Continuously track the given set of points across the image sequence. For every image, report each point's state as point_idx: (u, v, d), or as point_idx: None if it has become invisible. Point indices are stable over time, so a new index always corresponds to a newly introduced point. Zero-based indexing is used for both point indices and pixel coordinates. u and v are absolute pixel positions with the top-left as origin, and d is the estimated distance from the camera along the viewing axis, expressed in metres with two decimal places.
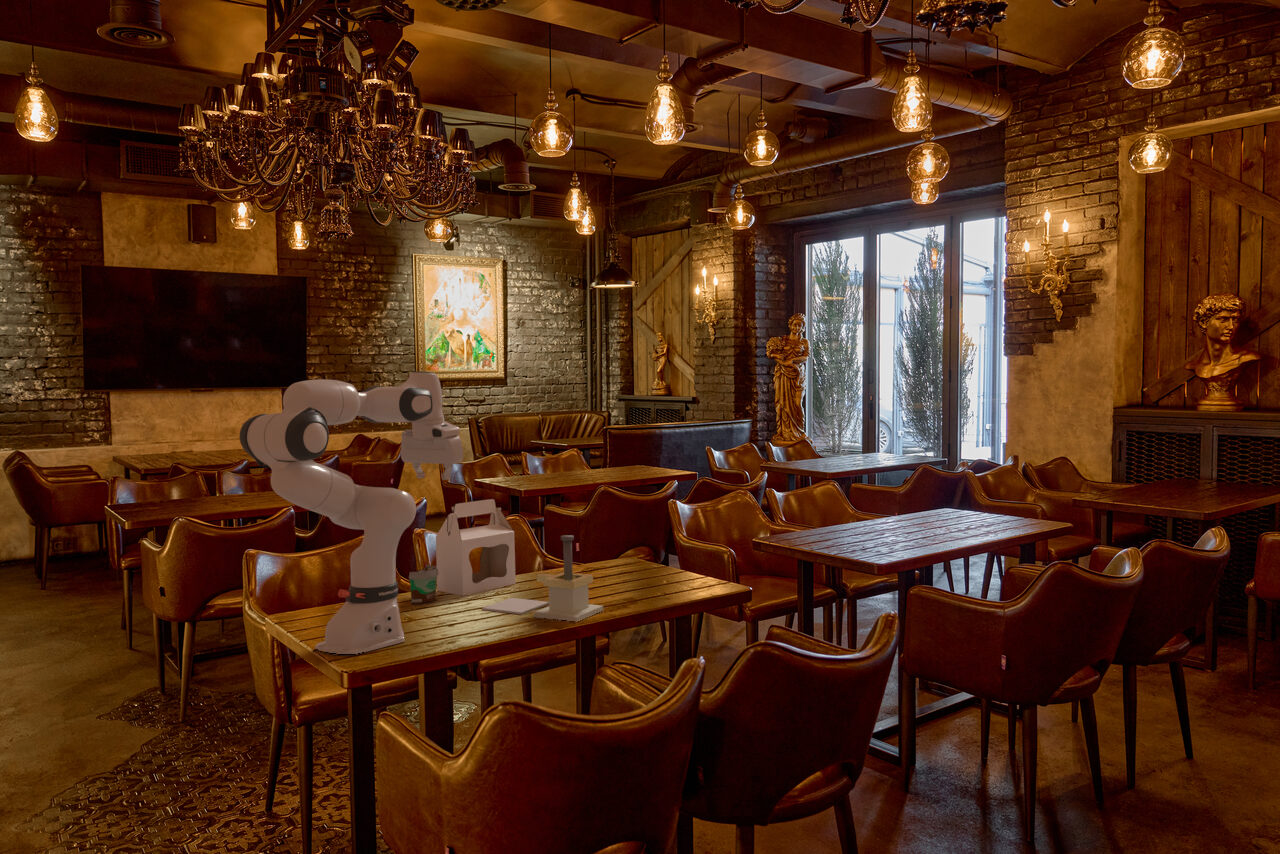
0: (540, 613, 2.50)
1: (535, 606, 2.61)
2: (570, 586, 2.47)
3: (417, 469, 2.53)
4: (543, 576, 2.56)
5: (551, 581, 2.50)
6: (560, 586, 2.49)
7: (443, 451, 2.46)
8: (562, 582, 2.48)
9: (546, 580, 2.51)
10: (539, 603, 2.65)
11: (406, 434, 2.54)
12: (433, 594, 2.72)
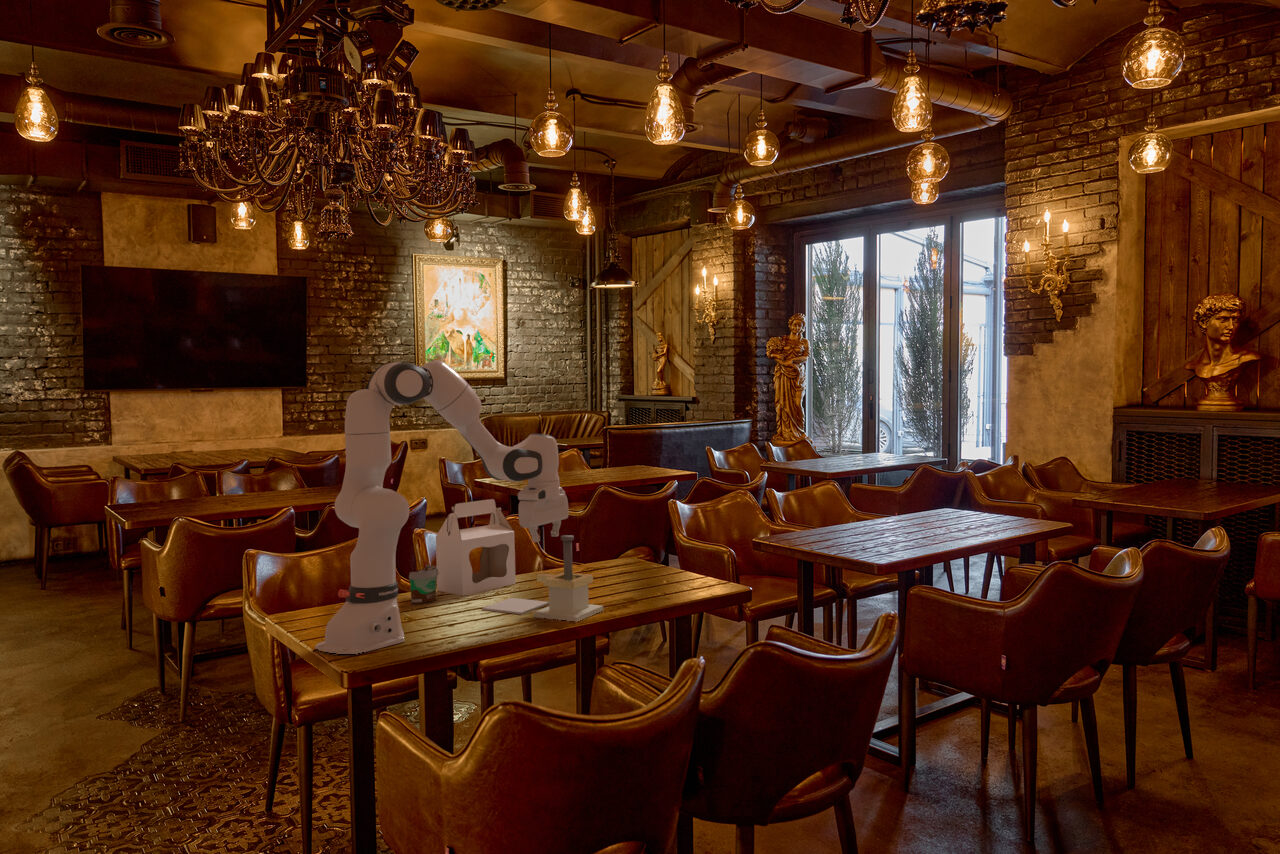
0: (540, 613, 2.50)
1: (535, 606, 2.61)
2: (570, 586, 2.47)
3: (554, 527, 2.61)
4: (543, 576, 2.56)
5: (551, 581, 2.50)
6: (560, 586, 2.49)
7: None
8: (562, 582, 2.48)
9: (546, 580, 2.51)
10: (539, 603, 2.65)
11: None
12: (433, 594, 2.72)
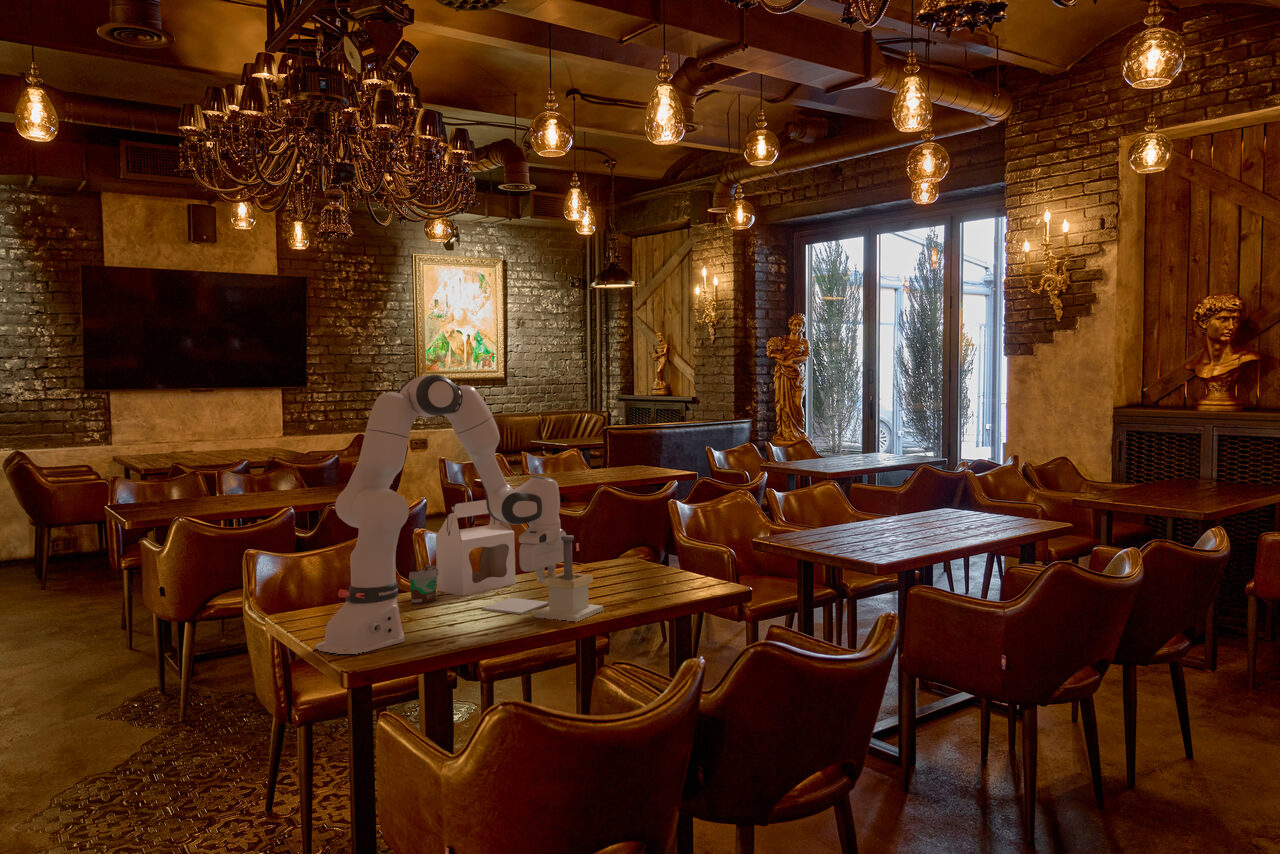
0: (540, 613, 2.50)
1: (535, 606, 2.61)
2: (570, 586, 2.47)
3: (548, 571, 2.59)
4: None
5: (551, 581, 2.50)
6: (560, 586, 2.49)
7: None
8: (562, 582, 2.48)
9: (546, 580, 2.51)
10: (539, 603, 2.65)
11: None
12: (433, 594, 2.72)
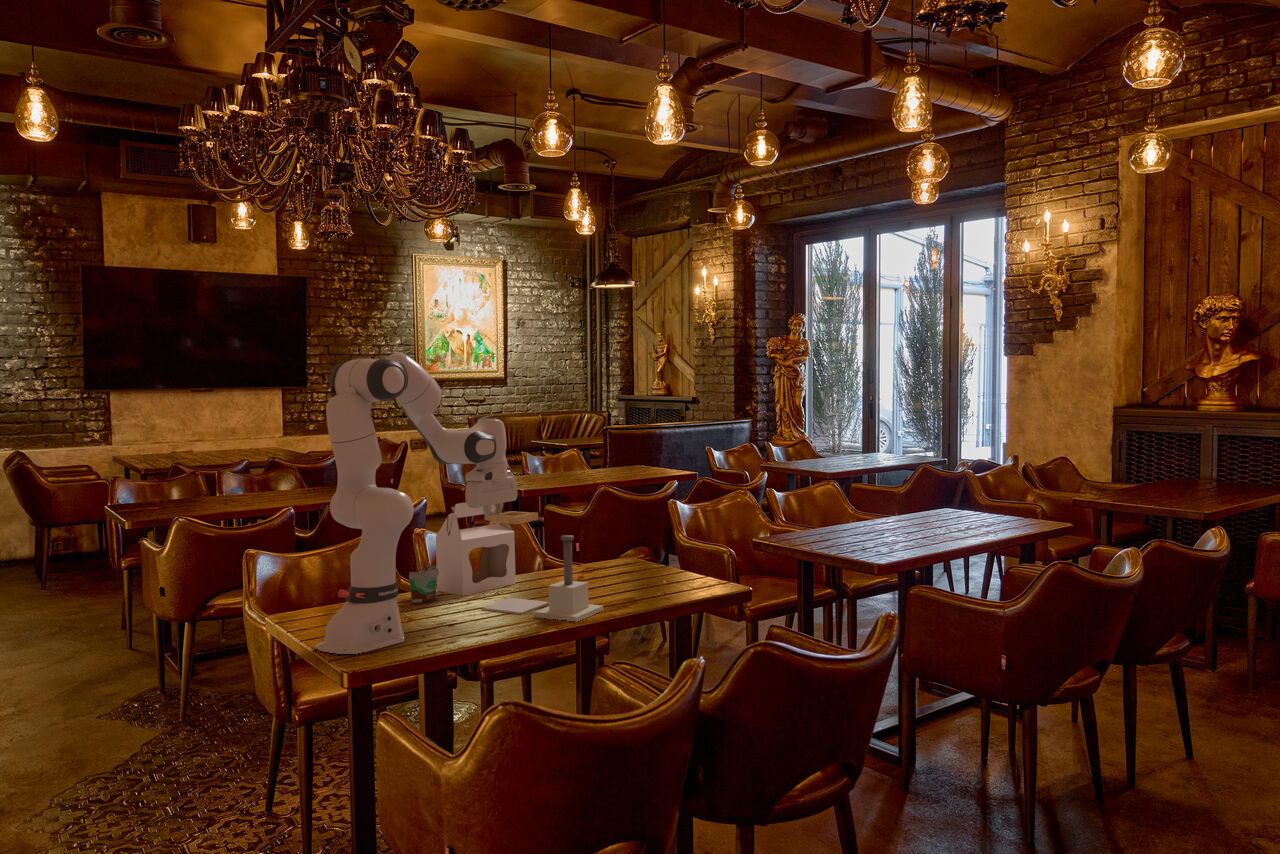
0: (540, 613, 2.50)
1: (535, 606, 2.61)
2: (514, 521, 2.56)
3: (496, 509, 2.68)
4: None
5: (497, 517, 2.59)
6: (505, 522, 2.58)
7: None
8: (507, 518, 2.58)
9: (492, 516, 2.60)
10: (539, 603, 2.65)
11: None
12: (433, 594, 2.72)
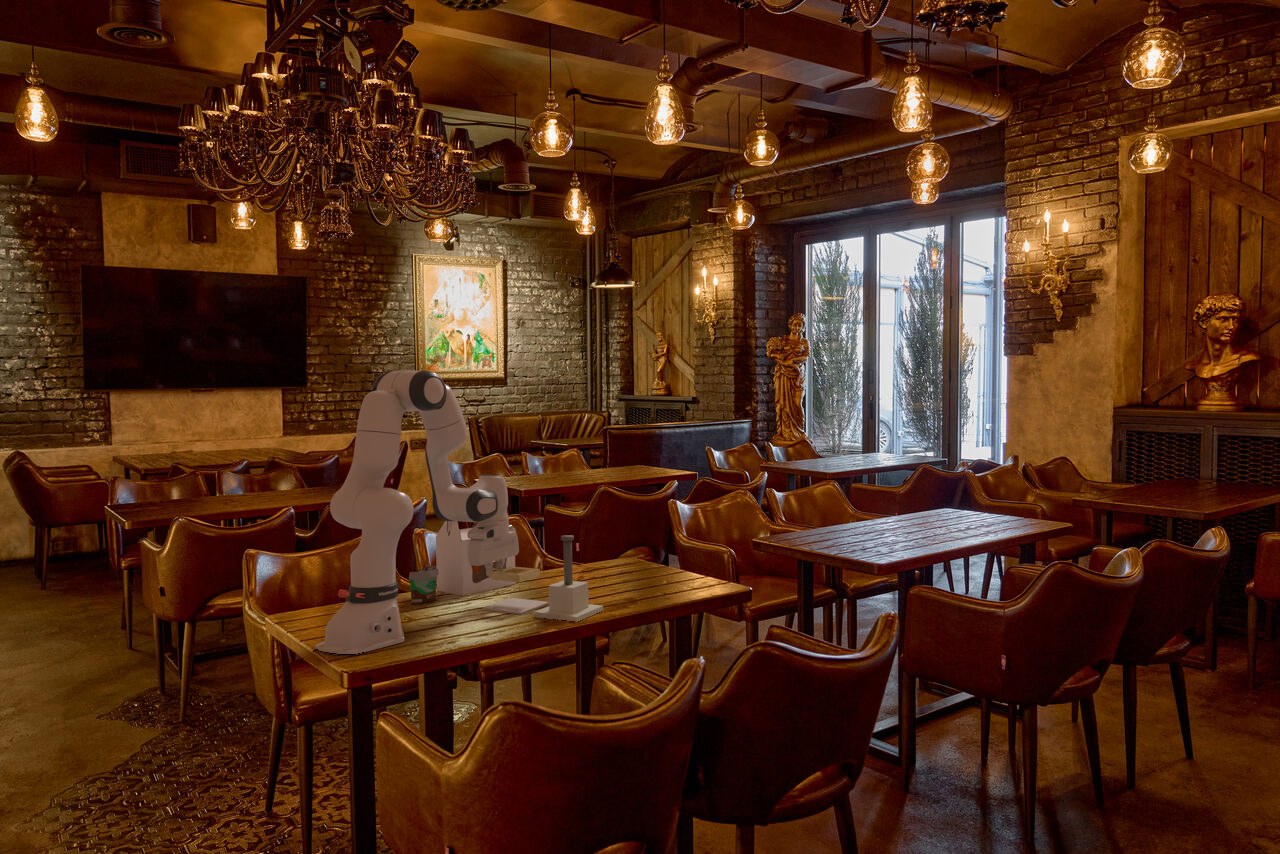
0: (540, 613, 2.50)
1: (535, 606, 2.61)
2: (516, 580, 2.57)
3: (498, 565, 2.69)
4: None
5: (498, 575, 2.60)
6: (507, 580, 2.59)
7: None
8: (509, 576, 2.58)
9: (494, 574, 2.61)
10: (539, 603, 2.65)
11: None
12: (433, 594, 2.72)
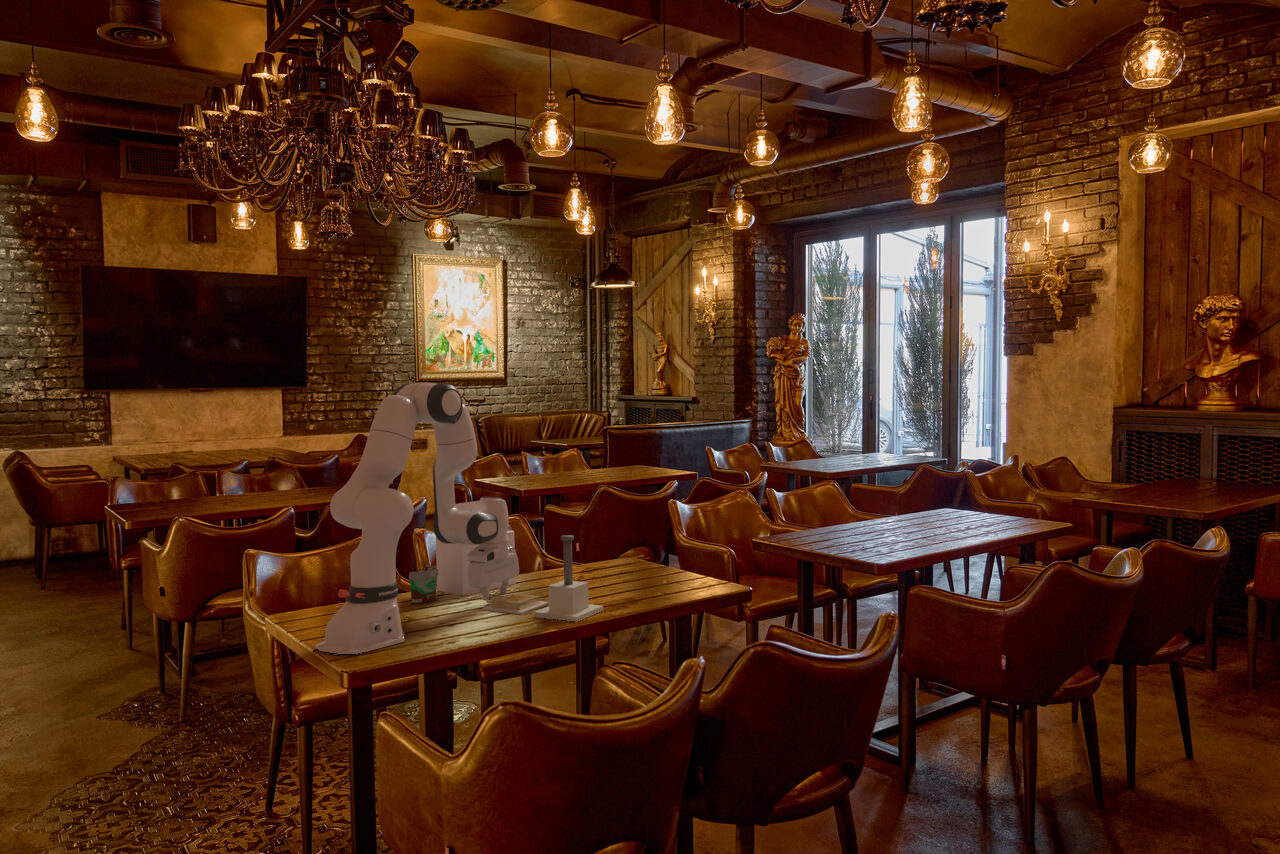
0: (540, 613, 2.50)
1: (535, 606, 2.61)
2: (516, 607, 2.57)
3: (502, 586, 2.71)
4: (492, 597, 2.66)
5: (498, 602, 2.60)
6: (507, 607, 2.59)
7: None
8: (509, 603, 2.59)
9: (494, 601, 2.61)
10: (539, 603, 2.65)
11: None
12: (433, 594, 2.72)
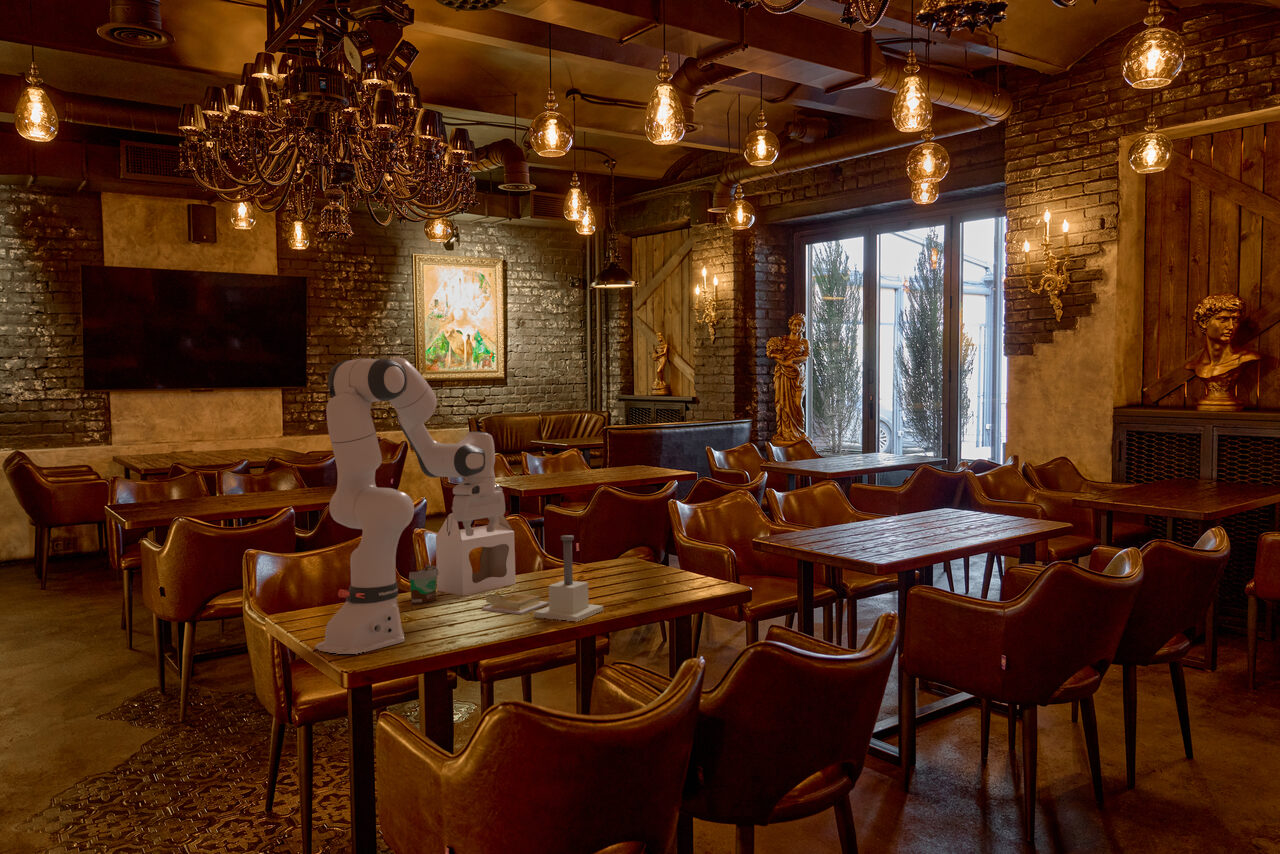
0: (540, 613, 2.50)
1: (535, 606, 2.61)
2: (516, 607, 2.57)
3: (489, 523, 2.70)
4: (492, 597, 2.66)
5: (498, 602, 2.60)
6: (507, 607, 2.59)
7: None
8: (509, 603, 2.59)
9: (494, 601, 2.61)
10: (539, 603, 2.65)
11: None
12: (433, 594, 2.72)
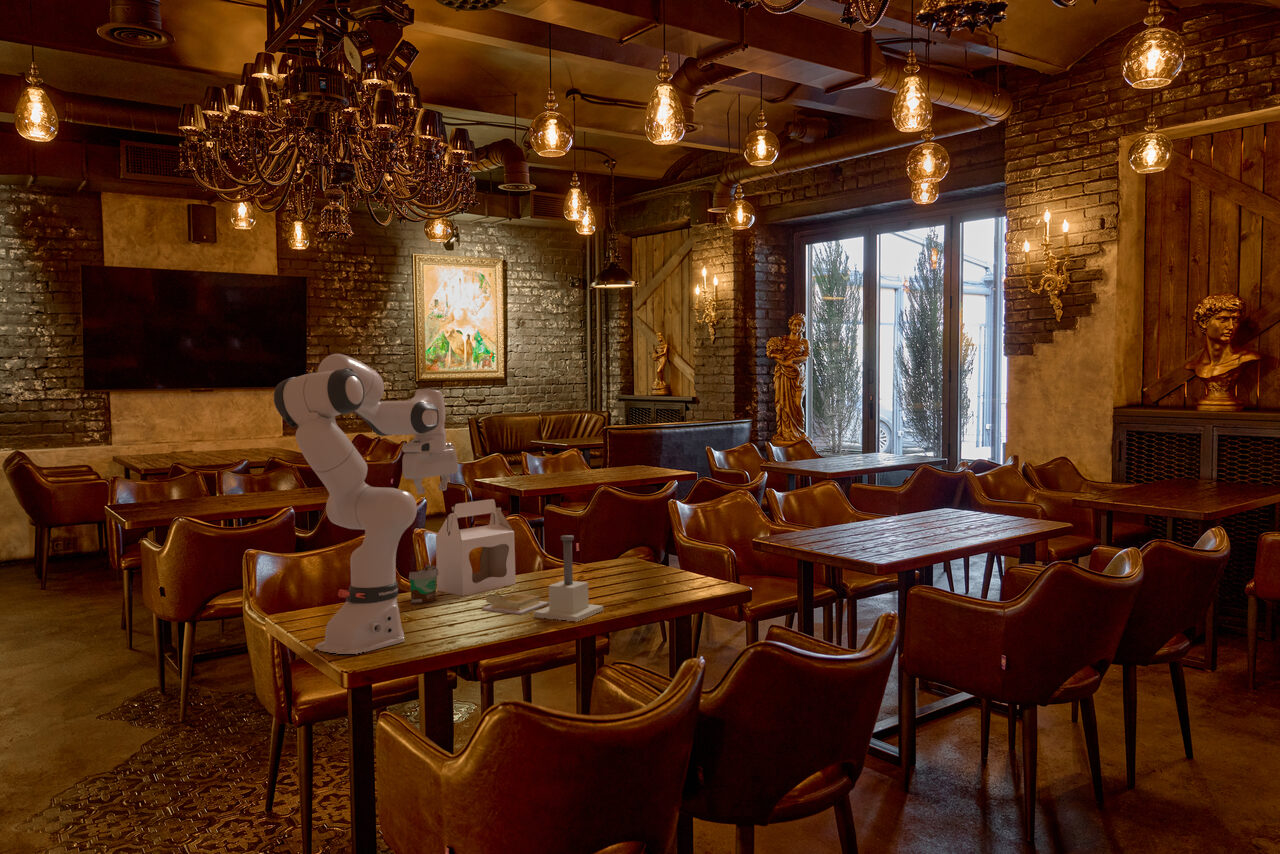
0: (540, 613, 2.50)
1: (535, 606, 2.61)
2: (516, 607, 2.57)
3: (442, 481, 2.67)
4: (492, 597, 2.66)
5: (498, 602, 2.60)
6: (507, 607, 2.59)
7: None
8: (509, 603, 2.59)
9: (494, 601, 2.61)
10: (539, 603, 2.65)
11: None
12: (433, 594, 2.72)
